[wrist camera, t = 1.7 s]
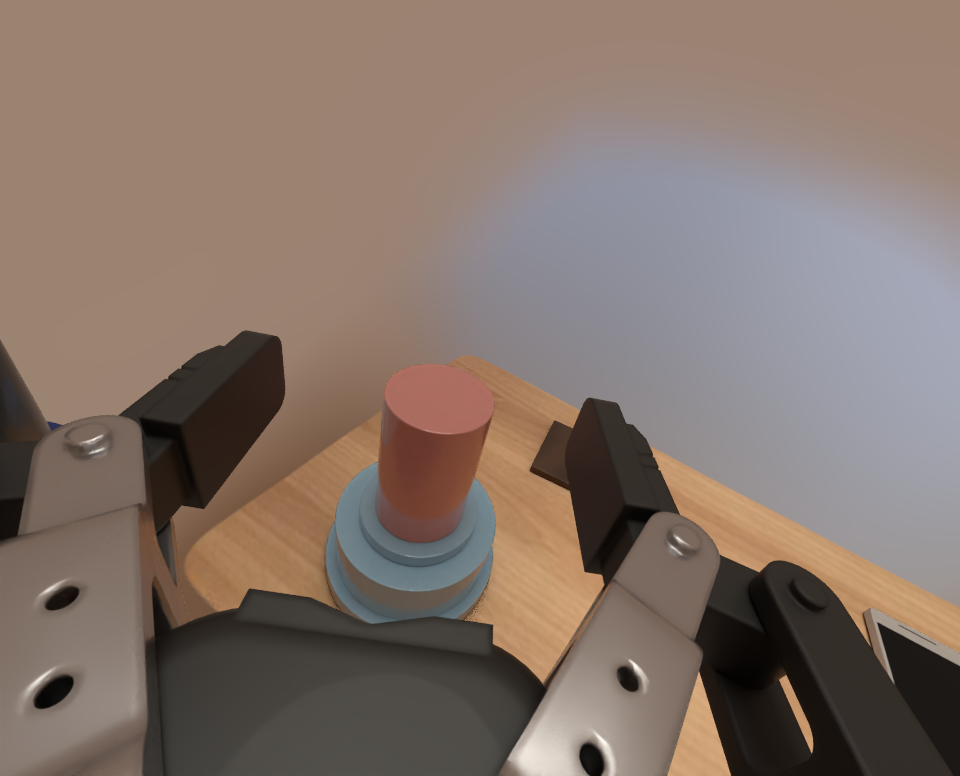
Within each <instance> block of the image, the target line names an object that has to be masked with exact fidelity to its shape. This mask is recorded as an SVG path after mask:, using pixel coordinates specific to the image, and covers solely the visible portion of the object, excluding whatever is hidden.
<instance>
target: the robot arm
mask: <svg viewBox="0 0 960 776" xmlns="http://www.w3.org/2000/svg"><path fill="white" fill-rule="evenodd" d="M284 395H285V379H284V367H283V355H282V345H281V341H280V339H279V338H278V337H277V336H273V335H268V334H262V333H257V332H251V331H242V332H241V333H240V334H239V335H237V336H236V337H235V338H234V339H233V340H231V341H230V342H229V343H228V344H226V345H225V346H216V347H214V348H211V349H209V350H206V351H203V352H201V353H198V354H196V355H195V356H194V357H193V358H192V359H190V360H189V361H187V362H186V363H185V364H184V365H182V368H181V369H177V370H176V371H175V372H173V373H172V374H171V375H170V376H169V378H168V379H164V380H163V381H162V382H161V383H159V384H158V385H157V386H155V387H154V388H153V389H152V390H150V391H149V392H148V393H147V394H145V395H144V396H143V397H141V398H140V399H139V400H137V401H136V402H135V403H134V404H132V405H131V406H130V407H129V408H127V409H126V410H125V411H123V412H122V413H121V414H120V415H118V416H115V415H102V416H93V417H88V418H84V419H79V420H76V421H73V422H70V423H67V424H65V425H63V426H60V427H58V428H56V429H55V430H53V431H52V430H51V428H50V427H49V425H48V423H47V421H46V420H45V418H44V417H43V414H42V412H41V410H40V409H39V407H38V405H37V403H36V402H35V400H34V398H33V396H32V394H31V393H30V391H29V389H28V387H27V386H26V384H25V382H24V380H23V379H22V377H21V375H20V373H19V372H18V370H17V368H16V366H15V365H14V363H13V361H12V359H11V358H10V356H9V354H8V352H7V351H6V349H5V347H4V345H3V343H2V342H1V340H0V776H667V774H668V771H669V768H670V764H671V761H672V758H673V755H674V751H675V748H676V745H677V741H678V738H679V735H680V731H681V728H682V725H683V722H684V718H685V715H686V712H687V708H688V705H689V702H690V699H691V695H692V692H693V689H694V685H695V682H696V679H697V676H698V672H700V675H701V678H702V682H703V685H704V688H705V692H706V695H707V698H708V701H709V705H710V708H711V711H712V714H713V718H714V721H715V724H716V727H717V731H718V734H719V737H720V740H721V744H722V747H723V750H724V753H725V757H726V760H727V763H728V767H729V770H730V773H731V776H954V775H953V774H952V772H951V771H950V769H949V768H948V766H947V765H946V763H945V761H944V760H943V758H942V757H941V755H940V754H939V752H938V751H937V749H936V748H935V746H934V744H933V743H932V741H931V740H930V738H929V737H928V735H927V734H926V732H925V731H924V729H923V727H922V726H921V724H920V723H919V721H918V720H917V718H916V717H915V715H914V714H913V712H912V711H911V709H910V707H909V706H908V704H907V703H906V701H905V700H904V698H903V697H902V695H901V694H900V692H899V690H898V689H897V687H896V686H895V684H894V683H893V681H892V680H891V678H890V677H889V675H888V673H887V672H886V670H885V669H884V667H883V666H882V664H881V663H880V661H879V660H878V658H877V656H876V655H875V653H874V652H873V650H872V649H871V647H870V646H869V644H868V643H867V641H866V639H865V638H864V636H863V635H862V633H861V632H860V630H859V629H858V627H857V626H856V624H855V622H854V621H853V619H852V618H851V616H850V615H849V613H848V612H847V610H846V609H845V607H844V605H843V604H842V602H841V601H840V600H839V598H838V597H837V596H836V595H835V593H834V592H833V591H832V590H831V589H830V588H829V587H828V586H827V585H826V584H825V583H824V582H822V581H821V580H820V579H819V578H817V577H816V576H815V575H813V574H812V573H810V572H809V571H807V570H806V569H804V568H802V567H800V566H798V565H795V564H793V563H790V562H786V561H773V562H770V563H769V564H768V565H767V566H766V567H765V568H763V569H762V570H761V571H760V572H757V571H755V570H753V569H750V568H748V567H746V566H743V565H741V564H739V563H737V562H734V561H732V560H730V559H728V558H725V557H723V556H721V555H719V551H718V549H717V547H716V545H715V543H714V542H713V540H712V539H711V538H710V536H709V535H708V534H707V533H706V532H705V531H704V530H703V529H702V528H701V527H700V526H698V525H697V524H696V523H694V522H693V521H691V520H689V519H688V518H686V517H684V516H681V515H680V514H679V512H678V509H677V507H676V505H675V503H674V500H673V498H672V496H671V494H670V491H669V489H668V487H667V485H666V482H665V480H664V478H663V476H662V473H661V471H660V470H658V468H659V467H658V464H657V462H656V460H655V458H654V457H653V453H652V451H651V449H650V446H649V444H648V442H647V440H646V438H644V436H643V435H642V434H641V433H640V432H639V431H638V430H637V429H636V428H635V427H634V425H631V424H626V422H625V420H624V417H623V415H622V412H621V410H620V407H619V405H618V404H617V403H615V402H609V401H605V400H599V399H594V398H588V399H586V401H585V402H584V404H583V406H582V408H581V411H580V413H579V415H578V418H577V420H576V422H575V425H574V427H573V429H572V432H571V434H570V437H569V439H568V441H567V445H566V450H565V466H566V472H567V477H568V483H569V488H570V494H571V499H572V505H573V510H574V516H575V521H576V527H577V532H578V538H579V543H580V549H581V554H582V560H583V565H584V571H585V572H588V573H594V574H600V575H602V576H603V580H604V587H603V588H602V590H601V591H600V593H599V594H598V596H597V598H596V599H595V601H594V602H593V604H592V606H591V607H590V609H589V611H588V612H587V614H586V615H585V617H584V619H583V620H582V622H581V624H580V625H579V627H578V628H577V630H576V632H575V633H574V635H573V637H572V638H571V640H570V641H569V643H568V645H567V646H566V648H565V650H564V651H563V653H562V654H561V656H560V657H559V659H558V661H557V662H556V664H555V665H554V667H553V668H552V670H551V671H550V673H549V674H548V676H547V678H546V679H545V681H544V682H543V684H542V682H541V681H540V680H539V679H538V677H537V676H536V675H535V674H534V673H533V672H532V671H531V670H530V669H529V668H528V667H527V666H526V665H524V664H523V663H522V662H521V661H519V660H518V659H517V658H516V657H514V656H513V655H511V654H510V653H508V652H507V651H505V650H503V649H502V648H500V647H498V646H496V645H494V644H493V625H491V624H484V623H478V622H471V621H464V620H458V619H451V618H444V617H437V616H432V617H424V618H416V619H408V620H400V621H392V622H384V623H374V624H371V623H366V622H363V621H361V620H359V619H356V618H354V617H352V616H350V615H348V614H346V613H343V612H341V611H339V610H337V609H335V608H332V607H330V606H328V605H326V604H324V603H321V602H319V601H317V600H315V599H313V598H310V597H303V596H296V595H290V594H283V593H276V592H269V591H263V590H256V589H249V590H248V591H247V593H246V595H245V597H244V599H243V601H242V603H241V605H240V606H239V608H236V609H230V610H225V611H221V612H216V613H213V614H210V615H207V616H204V617H201V618H198V619H195V620H193V621H190V622H189V620H188V616H187V613H186V609H185V604H184V599H183V592H182V584H181V576H180V568H179V560H178V551H177V543H176V535H175V526H174V522H173V519H172V516H173V515H174V514H175V513H176V511H177V510H178V509H179V508H180V507H181V505H182V506H189V507H195V508H201V509H204V508H205V507H206V506H207V504H208V503H209V502H210V501H211V499H212V498H213V497H214V495H215V494H216V492H217V491H218V490H219V489H220V487H221V486H222V485H223V483H224V482H225V481H226V479H227V478H228V477H229V476H230V474H231V473H232V472H233V470H234V469H235V467H236V466H237V465H238V463H239V462H240V461H241V460H242V458H243V457H244V456H245V454H246V453H247V452H248V450H249V449H250V448H251V446H252V445H253V444H254V443H255V441H256V440H257V438H258V437H259V436H260V434H261V433H262V432H263V431H264V429H265V428H266V426H267V425H268V424H269V423H270V421H271V420H272V419H273V418H274V416H275V415H276V413H277V412H278V411H279V409H280V407H281V405H282V403H283V400H284ZM785 675H787V677H788V679H789V682H790V684H791V686H792V688H793V690H794V692H795V695H796V697H797V699H798V701H799V703H800V705H801V708H802V710H803V712H804V714H805V716H806V718H807V720H808V723H809V725H810V728H811V731H812V736H813V752H812V753H811V751H810V749H809V746H808V744H807V742H806V740H805V737H804V735H803V733H802V731H801V728H800V726H799V724H798V722H797V720H796V717H795V715H794V713H793V711H792V708H791V706H790V704H789V702H788V699H787V697H786V695H785V693H784V690H783V688H782V686H781V684H780V681H779V679H781V678H782V677H784V676H785Z"/></svg>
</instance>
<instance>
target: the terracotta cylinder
mask: <svg viewBox="0 0 960 776" xmlns="http://www.w3.org/2000/svg"><path fill="white" fill-rule="evenodd" d="M494 409H495V402H494V398H493V395H492V393H491V391H490V390H489V389H488V387H487V386H486V385H485V384H484V383H483V382H482V381H481V380H479V379H478V378H477V377H475V376H474V375H472V374H470V373H468V372H466V371H464V370H461V369H458V368H455V367H452V366H447V365H441V364H420V365H414V366H410V367H407V368H404V369H402V370H400V371H398V372H396V373H395V374H394V375H393V376H392V377H391V378H390V379H389V380H388V381H387V383H386V385H385V389H384V397H383V409H382V421H381V434H380V446H379V458H378V470H377V482H376V495H375V511H376V514H377V517H378V519H379V521H380V522H381V524H382V525H383V526H384V527H385V529H386V530H388V531H389V532H390V533H391V534H393V535H394V536H396V537H398V538H400V539H403V540H405V541H409V542H415V543H427V542H433V541H437V540H440V539H442V538H444V537H446V536H448V535H449V534H450V533H452V532H453V531H454V530H455V529H456V528H457V527H458V525H459V524H460V522H461V520H462V518H463V515H464V512H465V508H466V505H467V502H468V498H469V495H470V491H471V488H472V485H473V481H474V478H475V474H476V471H477V468H478V464H479V461H480V457H481V454H482V451H483V447H484V444H485V440H486V437H487V434H488V430H489V427H490V424H491V420H492V417H493V413H494Z"/></svg>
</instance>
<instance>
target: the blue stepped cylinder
mask: <svg viewBox="0 0 960 776" xmlns="http://www.w3.org/2000/svg"><path fill="white" fill-rule="evenodd" d="M377 470H378V462H376V463H374V464H372V465H370V466H368V467H367V468H365V469H364V470H362V471H361V472H360V473H359V474H358V475H356V476H355V477H354V478H353V479H352V481H351V482H350V483H349V484H348V485H347V487H346V488H345V490H344V491H343V493H342V495H341V497H340V499H339V502H338V506H337V509H336V516H335V522H334V524H333V526H332V528H331V530H330V533H329V536H328V540H327V545H326V575H327V582H328V585H329V588H330V592H331V594H332V596H333V598H334V600H335V602H336V604H337V605H338V606H339V608H340V609H341V611H342V612H343V613H346V614H348V615H350V616H352V617H354V618H356V619H359V620H361V621H363V622H366V623H371V624H374V623H384V622H392V621H400V620H408V619H416V618H424V617H432V616H437V617H444V618H451V619H458V620H463V619H464V618H465V617H466V616H467V615H468V614H469V613H470V612H471V611H472V610H473V608H474V607H475V606H476V604H477V603H478V601H479V599H480V598H481V596H482V594H483V592H484V589H485V587H486V584H487V582H488V579H489V576H490V573H491V568H492V561H493V547H492V544H493V540H494V536H495V528H496V522H495V513H494V509H493V506H492V503H491V500H490V498H489V496H488V494H487V492H486V491H485V489H484V488H483V486H482V485H481V484H480V483H479V482H478V481H477V479H476V478H474V481H473V485H472V488H471V491H470V495H469V498H468V502H467V505H466V508H465V512H464V515H463V518H462V520H461V522H460V524H459V525H458V527H457V528H456V529H455V530H454V531H453V532H452V533H450V534H449V535H448V536H446V537H444V538H442V539H440V540H437V541H433V542H427V543H415V542H409V541H405V540H403V539H400V538H398V537H396V536H394V535H393V534H391V533H390V532H389V531H388V530H386V529H385V527H384V526H383V525H382V524H381V522H380V521H379V519H378V517H377V514H376V511H375V495H376V482H377Z"/></svg>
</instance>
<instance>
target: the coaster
mask: <svg viewBox="0 0 960 776" xmlns="http://www.w3.org/2000/svg"><path fill="white" fill-rule="evenodd" d="M572 429H573V428H571V427H568V426H566V425H564V424H562V423H559V422H557V421H554V422H553V424H552V426H551V428H550V430H549V432H548V434H547V436H546V438H545V440H544V442H543V444H542V446H541V448H540V450H539V452H538V454H537V456H536V458H535V460H534V462H533V464H532V466H531V468H530V471H531V472H533V473H535V474H537V475H539V476H541V477H544V478H546V479H548V480H550V481H552V482H554V483H556V484H558V485H560V486H562V487H564V488H566V489H568V490H570V488H569V483H568V477H567V472H566V466H565V450H566V445H567V441H568V439H569V437H570V434H571V432H572Z"/></svg>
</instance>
